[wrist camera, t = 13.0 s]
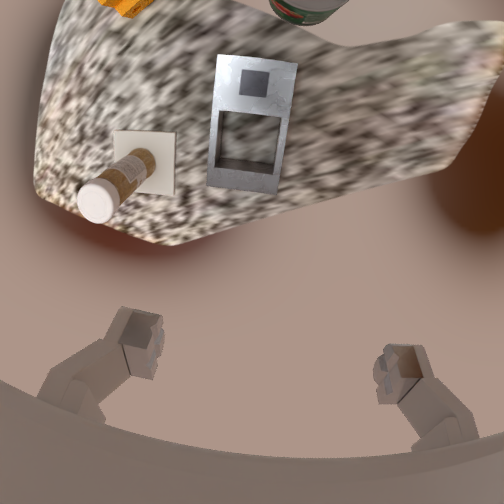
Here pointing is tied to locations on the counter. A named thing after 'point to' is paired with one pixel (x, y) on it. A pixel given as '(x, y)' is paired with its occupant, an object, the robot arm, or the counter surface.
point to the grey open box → (256, 102)
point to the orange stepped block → (127, 6)
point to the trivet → (162, 151)
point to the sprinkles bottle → (115, 185)
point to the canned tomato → (305, 10)
